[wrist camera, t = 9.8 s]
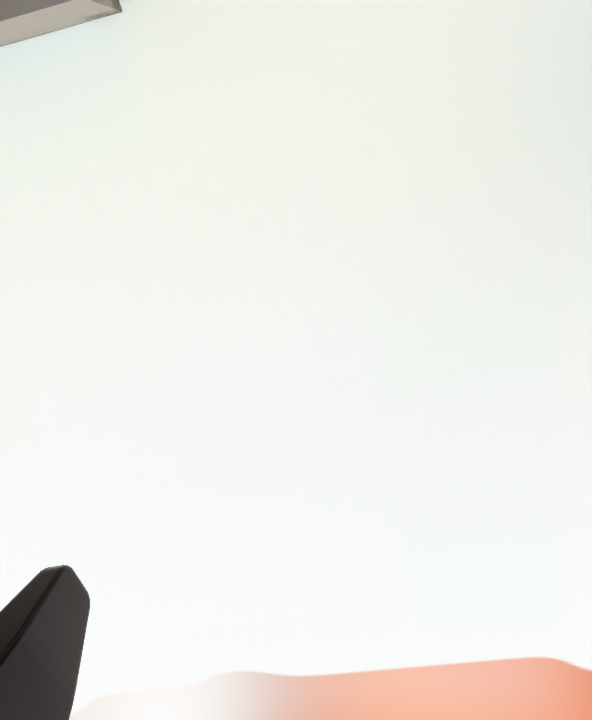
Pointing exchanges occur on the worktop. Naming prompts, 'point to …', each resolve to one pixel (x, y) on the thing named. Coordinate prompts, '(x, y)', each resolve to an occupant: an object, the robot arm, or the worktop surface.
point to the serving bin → (48, 16)
